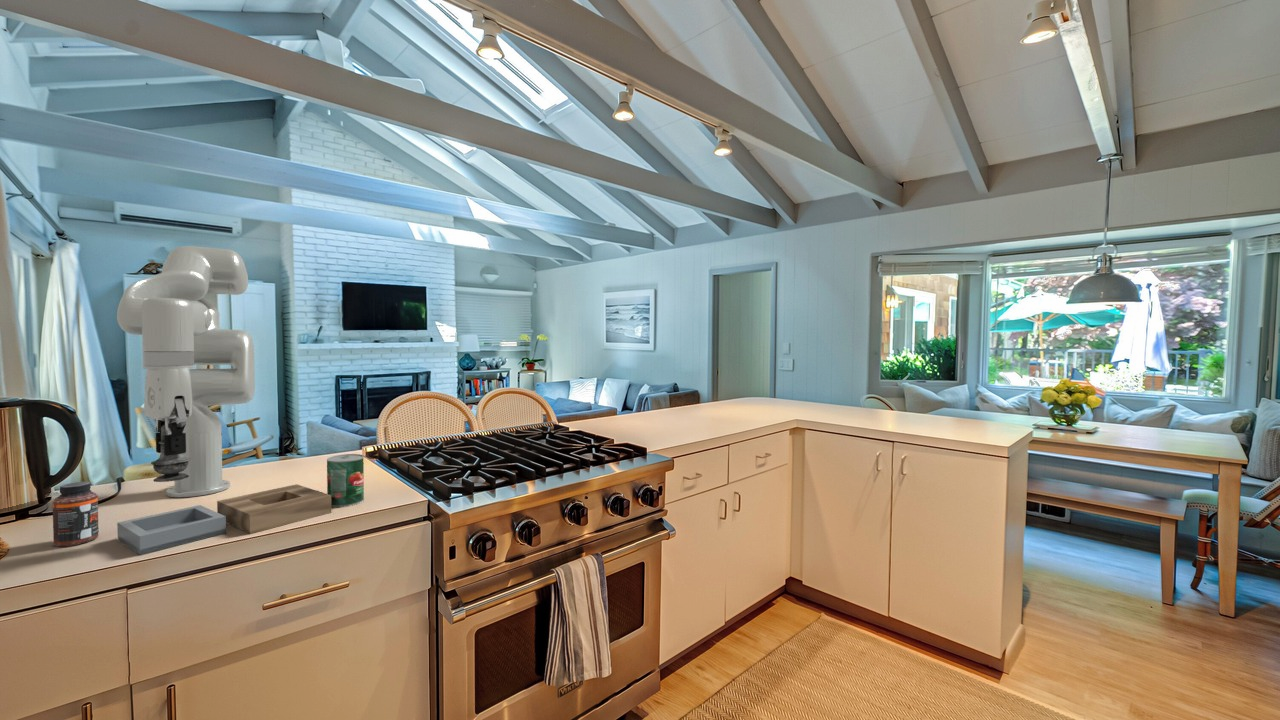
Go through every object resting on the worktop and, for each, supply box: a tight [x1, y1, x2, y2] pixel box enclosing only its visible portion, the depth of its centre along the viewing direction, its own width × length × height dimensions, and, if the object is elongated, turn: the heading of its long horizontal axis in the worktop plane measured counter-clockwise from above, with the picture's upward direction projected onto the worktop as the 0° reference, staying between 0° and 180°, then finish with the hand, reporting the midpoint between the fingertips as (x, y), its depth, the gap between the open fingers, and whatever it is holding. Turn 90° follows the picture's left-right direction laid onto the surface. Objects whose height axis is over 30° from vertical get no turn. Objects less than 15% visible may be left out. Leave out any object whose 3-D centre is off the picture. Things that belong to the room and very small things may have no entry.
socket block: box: [216, 484, 332, 535], centre depth 116 cm, size 16×16×4 cm
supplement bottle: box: [52, 481, 99, 547], centre depth 100 cm, size 6×6×11 cm
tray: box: [116, 504, 227, 556], centre depth 103 cm, size 13×13×4 cm
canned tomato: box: [326, 453, 365, 508], centre depth 126 cm, size 8×8×11 cm
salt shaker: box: [150, 422, 191, 483], centre depth 103 cm, size 6×6×12 cm
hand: (171, 452), depth 103 cm, fingers closed on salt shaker, 3 cm apart
